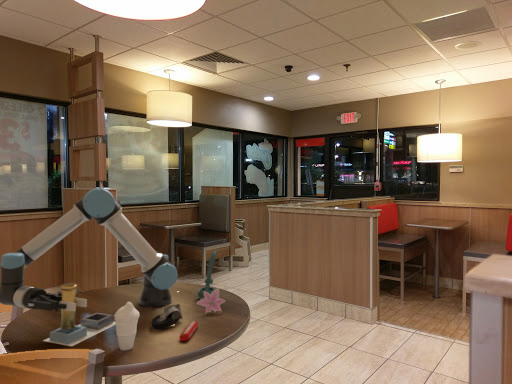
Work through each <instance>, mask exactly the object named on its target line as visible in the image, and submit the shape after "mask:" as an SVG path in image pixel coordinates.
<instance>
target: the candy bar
mask: <svg viewBox="0 0 512 384" xmlns="http://www.w3.org/2000/svg"><path fill="white" fill-rule="evenodd" d="M198 327H199V323H198V321H197V320H196V321H191V322H189V323H188V324H187V325H186V327H185V328H184V329H183V331H181V333H180V335H179V341H180V342H185V341H189V340H190V339H191V337H192V336H193V335H194V333H195V332H196V330H197V328H198Z"/></svg>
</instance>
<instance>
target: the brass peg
mask: <svg viewBox="0 0 512 384" xmlns="http://www.w3.org/2000/svg"><path fill="white" fill-rule="evenodd" d="M77 288H78V284H77V283H71V282H70V283H64V284H60V289H61V293H62V301H65V302H72V303H75V301H76V294H77ZM75 325H76V311H68V310H62V309H61V319H60V328H61V329H71V328H74V327H75Z"/></svg>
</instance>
